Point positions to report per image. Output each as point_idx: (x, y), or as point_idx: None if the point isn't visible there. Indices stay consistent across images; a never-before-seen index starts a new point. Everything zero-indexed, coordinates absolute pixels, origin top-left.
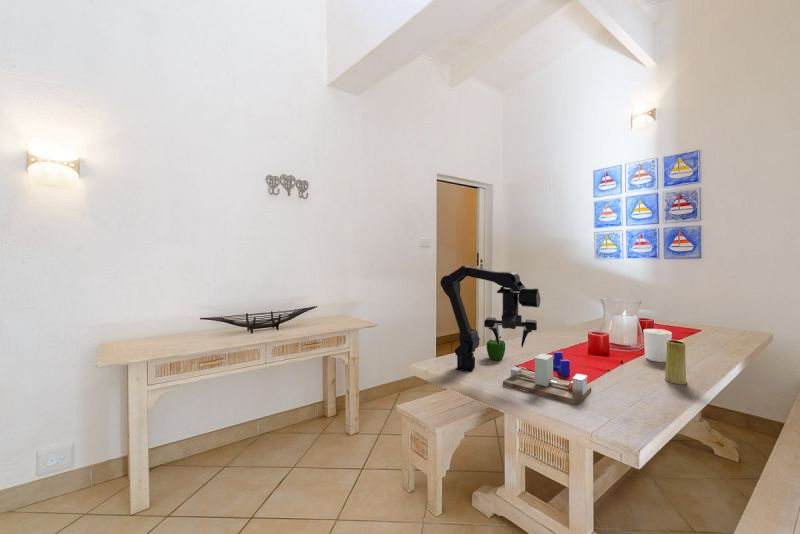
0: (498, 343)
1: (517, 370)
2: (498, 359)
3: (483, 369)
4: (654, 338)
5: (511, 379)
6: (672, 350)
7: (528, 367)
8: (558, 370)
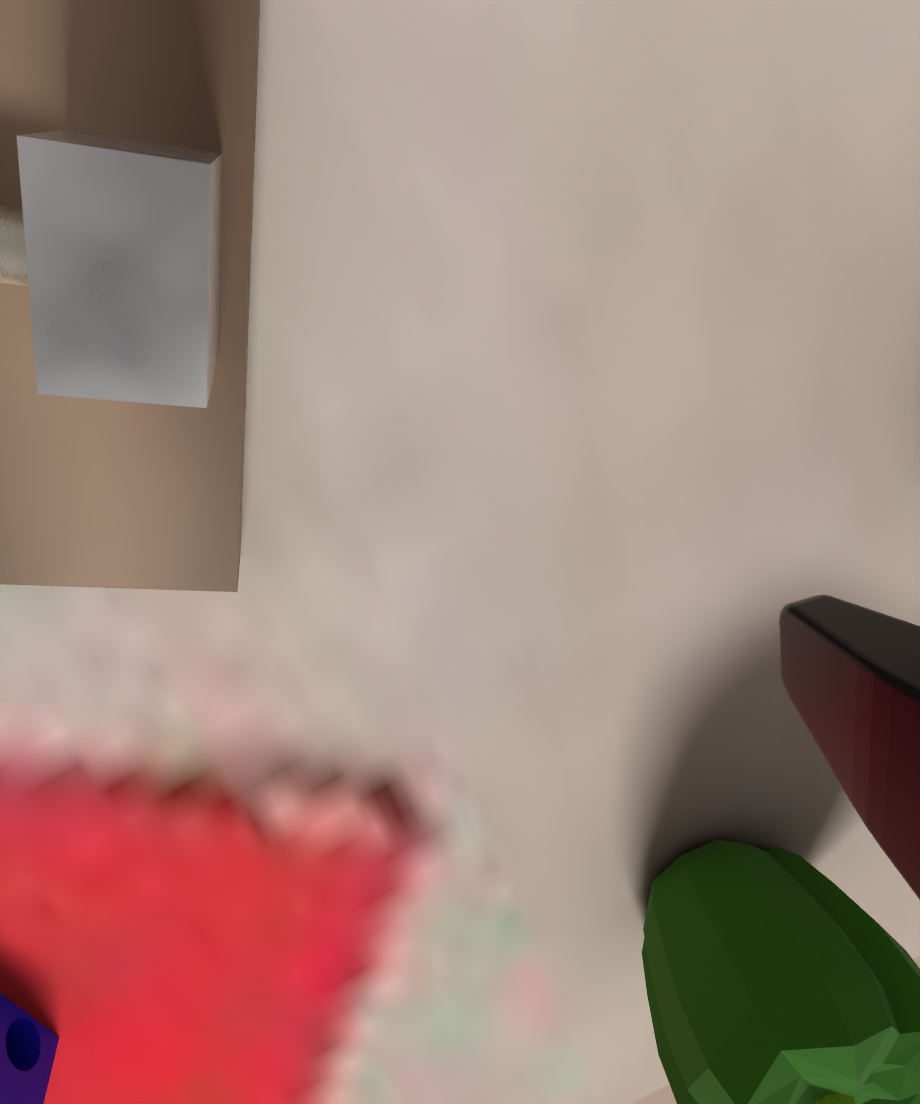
0: (850, 626)
1: (20, 164)
2: (678, 862)
3: (794, 460)
4: None
5: (150, 19)
6: None
7: (255, 855)
8: None
